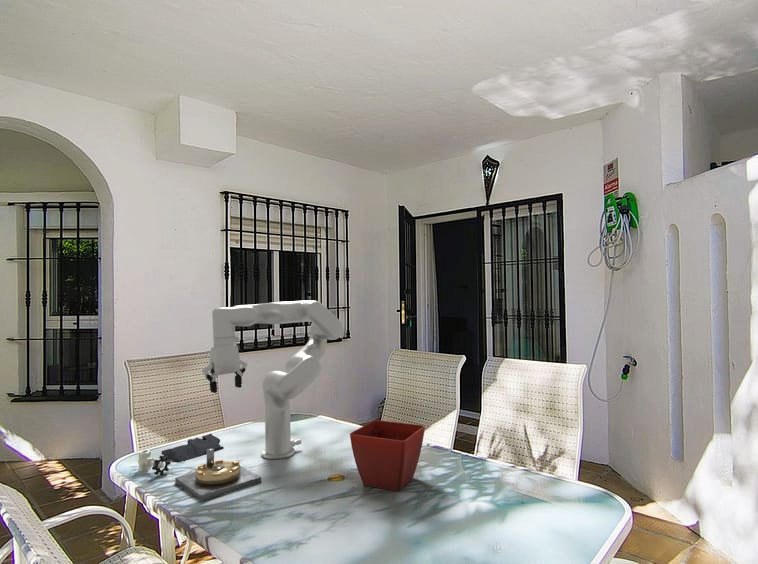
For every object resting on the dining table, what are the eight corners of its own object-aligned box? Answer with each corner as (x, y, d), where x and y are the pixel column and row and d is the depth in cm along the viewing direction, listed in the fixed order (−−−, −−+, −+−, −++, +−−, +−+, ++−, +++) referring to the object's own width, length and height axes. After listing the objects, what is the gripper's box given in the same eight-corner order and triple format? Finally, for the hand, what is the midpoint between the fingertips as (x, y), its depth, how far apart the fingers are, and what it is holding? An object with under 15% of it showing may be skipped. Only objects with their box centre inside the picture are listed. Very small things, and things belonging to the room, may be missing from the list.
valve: (132, 472, 169) (153, 478, 163) (132, 453, 169) (153, 458, 163) (149, 466, 174) (170, 472, 168) (149, 448, 174) (170, 453, 168)
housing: (232, 467, 172) (232, 459, 172) (261, 482, 158) (261, 473, 158) (175, 483, 158) (175, 474, 158) (201, 501, 144) (201, 492, 144)
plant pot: (426, 475, 161) (425, 424, 161) (405, 498, 144) (404, 441, 144) (375, 467, 169) (374, 419, 169) (349, 488, 152) (348, 434, 152)
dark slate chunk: (155, 457, 185) (155, 444, 185) (205, 442, 203) (205, 431, 203) (178, 464, 176) (177, 451, 176) (228, 448, 194) (228, 436, 194)
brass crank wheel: (248, 475, 158) (248, 452, 158) (207, 488, 148) (207, 463, 148) (227, 465, 168) (227, 443, 168) (187, 476, 158) (187, 453, 158)
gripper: (239, 338, 182) (241, 384, 182) (196, 344, 169) (198, 393, 169) (251, 339, 177) (253, 386, 177) (207, 345, 164) (209, 395, 164)
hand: (226, 389), depth 173 cm, fingers open, 9 cm apart
